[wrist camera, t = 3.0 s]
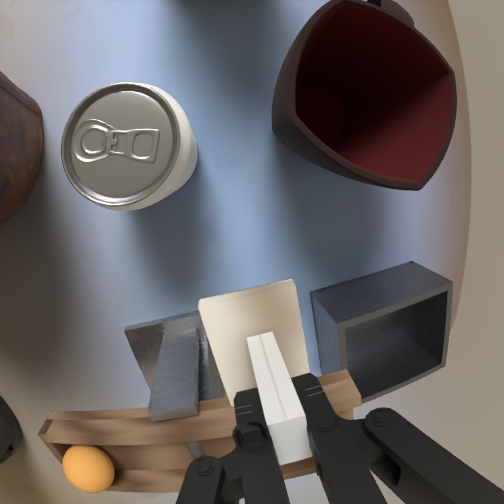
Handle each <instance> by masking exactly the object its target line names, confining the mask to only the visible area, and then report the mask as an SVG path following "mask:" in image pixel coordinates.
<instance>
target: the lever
mask: <svg viewBox="0 0 504 504" xmlns="http://www.w3.org/2000/svg"><path fill="white" fill-rule="evenodd" d="M198 309H199V312H200V315H201V318H202V321H203V325H204V328H205V331H206V334H207V337H208V340H209V343H210V346H211V349H212V352H213V355H214V358H215V361H216V364H217V367H218V370H219V373H220V376H221V379H222V382H223V385H224V387H225V390H226V393H227V396H228V397H225V398H219V399H212V400H206V401H199V402H198V415H193V416H187V417H181V418H174V419H168V420H161V421H154V422H152V420H151V418H150V417H149V415H148V413H147V412H148V408H137V409H123V410H105V411H51V413H50V414H49V416H48V418H47V419H46V421H45V423H44V424H43V426H42V428H41V430H40V431H39V433H38V435H39V437H40V438H41V439H42V440H43V442H44V443H45V444H46V446H47V447H48V448H49V449H50V451H51V452H52V453H53V454H54V456H55V457H56V458H57V459H58V460H59V462H60V463H61V464H62V462H63V457H64V455H65V453H66V451H67V450H68V449H69V448H71V447H72V446H74V445H77V444H79V445H94V446H96V447H98V448H100V449H101V450H103V451H104V452H105V453H106V454H107V455H108V456H109V458H110V459H111V461H112V463H113V466H114V479H113V482H112V483H111V485H110V486H109V487H108V488H107V489H106V490H107V491H121V492H151V493H162V492H180V489H181V486H182V483H183V480H184V477H185V474H186V471H187V468H188V466H189V464H190V463H191V462H192V461H193V460H194V459H196V458H198V457H201V456H213V457H215V458H217V459H218V458H220V457H223V456H225V455H227V454H229V453H230V452H232V451H233V450H234V449H235V447H236V444H235V442H234V439H233V437H232V432H233V429H234V428H235V427H236V425H237V424H236V417H235V408H234V401H233V400H234V397H235V395H236V393H237V392H239V391H243V390H248V389H252V388H256V387H258V386H257V382H256V378H255V374H254V369H253V365H252V361H251V356H250V352H249V348H248V343H247V339H246V338H247V337H252V336H256V335H260V334H264V333H268V332H271V331H272V332H273V335H274V337H275V340H276V342H277V345H278V347H279V350H280V353H281V355H282V358H283V360H284V363H285V365H286V368H287V370H288V373H289V375H290V378H292V377H296V376H299V375H303V374H306V373H309V372H310V370H309V363H308V357H307V351H306V344H305V338H304V332H303V326H302V320H301V314H300V308H299V303H298V297H297V291H296V286H295V284H294V282H293V280H292V279H288V280H283V281H279V282H275V283H270V284H266V285H262V286H257V287H253V288H248V289H244V290H239V291H235V292H230V293H226V294H221V295H216V296H212V297H207V298H202V299H200V300H199V305H198ZM317 378H318V380H319V382H320V384H321V386H322V388H323V390H324V392H325V394H326V396H327V398H328V400H329V402H330V404H331V406H332V407H333V409H334V411H335V413H336V414H337V415H338V416H340V417H341V418H344V419H348V420H353V408H354V407H357V406H360V405H361V395H360V393H359V391H358V389H357V387H356V385H355V384H354V382H353V380H352V378H351V376H350V374H349V373H348V371H347V369H345V370H342V371H338V372H335V373H331V374H328V375H324V376H320V377H317ZM280 468H281V472H282V475H283V479H284V480H285V479H290V478H294V477H299V476H303V475H307V474H312V473H316V466H315V460H314V458H313V455H312V457H310V458H306V459H303V460H299V461H295V462H291V463H288V464H284V465H280Z"/></svg>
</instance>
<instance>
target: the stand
mask: <svg viewBox="0 0 504 504" xmlns="http://www.w3.org/2000/svg"><path fill="white" fill-rule="evenodd" d="M124 332H125V334H126V337H127V339H128V342H129V344H130V346H131V349H132V351H133V353H134V355H135V358H136V360H137V362H138V364H139V367H140V369H141V371H142V373H143V375H144V377H145V379H146V382H147V384H148V386H149V388H150V390H151V396H150V402H149V407H148V412H147V413H148V415H149V417H150V418H151V420H152V422H154V421H161V420H168V419H174V418H181V417H187V416H193V415H198V402H199V401H206V400H212V399H219V398H225V397H228V396H227V393H226V390H225V387H224V385H223V382H222V379H221V376H220V373H219V370H218V367H217V364H216V361H215V358H214V355H213V352H212V349H211V346H210V343H209V340H208V337H207V334H206V331H205V328H204V325H203V321H202V318H201V315H200V312H199V311H195V312H191V313H187V314H182V315H178V316H173V317H169V318H164V319H160V320H155V321H151V322H146V323H141V324H137V325H132V326H127V327H126V328H125V330H124Z"/></svg>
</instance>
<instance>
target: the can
mask: <svg viewBox="0 0 504 504" xmlns="http://www.w3.org/2000/svg"><path fill="white" fill-rule="evenodd" d="M61 157H62V163H63V167H64V170H65V173H66V175H67V177H68V179H69V181H70V183H71V184H72V186H73V187H74V188H75V189H76V190H77V191H78V192H79V193H80V194H81V195H82V196H84V197H85V198H86V199H88V200H90V201H92V202H94V203H95V204H97V205H99V206H101V207H104V208H107V209H110V210H116V211H133V210H138V209H142V208H145V207H148V206H150V205H153V204H155V203H157V202H158V201H160V200H162V199H164V198H165V197H167V196H168V195H170V194H172V193H173V192H175V191H176V190H178V189H179V188H180V187H182V186H183V185H184V184H185V183H186V182H187V181H188V180H189V178H190V177H191V175H192V173H193V171H194V169H195V166H196V163H197V157H198V150H197V143H196V140H195V137H194V134H193V131H192V129H191V126H190V123H189V121H188V119H187V116H186V115H185V113H184V111H183V109H182V108H181V106H180V105H179V104H178V103H177V101H176V100H175V99H174V98H172V97H171V96H170V95H169V94H168V93H166V92H165V91H163V90H161V89H159V88H157V87H155V86H152V85H149V84H144V83H133V82H119V83H113V84H109V85H106V86H104V87H101V88H99V89H97V90H96V91H94V92H92V93H91V94H89V95H88V96H87V97H86V98H85V99H83V100H82V101H81V102H80V104H79V105H78V106H77V107H76V108H75V110H74V111H73V113H72V114H71V116H70V118H69V119H68V122H67V124H66V126H65V129H64V133H63V137H62V143H61Z"/></svg>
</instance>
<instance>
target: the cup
mask: <svg viewBox="0 0 504 504" xmlns="http://www.w3.org/2000/svg"><path fill="white" fill-rule="evenodd" d="M456 110H457V93H456V82H455V75H454V71H453V70H452V68H451V67H450V65H449V64H448V63H447V61H446V60H445V58H444V57H443V56H442V55H441V53H440V52H439V51H438V50H437V48H436V47H435V46H434V45H433V44H432V43H431V42H430V41H429V40H428V39H427V38H426V37H425V36H424V35H423V34H422V33H420V32H419V31H418V30H417V29H416V28H414V22H413V19H412V18H411V16H410V15H409V13H408V12H407V11H406V10H405V9H403V8H402V7H401V6H400V5H399V4H398V3H396V2H394V1H392V0H368V1H367V2H365V1H362V0H331V1H329V2H327V3H326V4H325V5H323V6H322V7H321V8H320V9H319V10H317V11H316V12H315V13H314V14H313V16H312V17H311V18H310V19H309V20H308V22H307V23H306V24H305V25H304V27H303V28H302V30H301V31H300V33H299V34H298V36H297V37H296V39H295V41H294V42H293V44H292V46H291V48H290V50H289V52H288V54H287V56H286V58H285V60H284V62H283V65H282V67H281V70H280V73H279V76H278V80H277V83H276V88H275V92H274V97H273V105H272V130H273V132H274V134H275V135H276V136H277V137H278V138H279V139H280V140H281V141H282V142H283V143H284V144H285V145H286V146H288V147H289V148H290V149H291V150H293V151H294V152H296V153H297V154H299V155H300V156H302V157H304V158H305V159H307V160H309V161H311V162H313V163H314V164H316V165H318V166H320V167H322V168H324V169H327V170H329V171H331V172H334V173H336V174H339V175H341V176H344V177H347V178H350V179H353V180H356V181H360V182H363V183H367V184H371V185H376V186H380V187H385V188H391V189H399V190H413V191H418V190H421V189H422V188H423V187H424V186H425V184H426V183H427V182H428V181H429V180H430V179H431V177H432V176H433V175H434V173H435V172H436V170H437V169H438V167H439V166H440V164H441V162H442V160H443V158H444V156H445V154H446V152H447V149H448V146H449V144H450V141H451V138H452V134H453V130H454V125H455V119H456Z"/></svg>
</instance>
